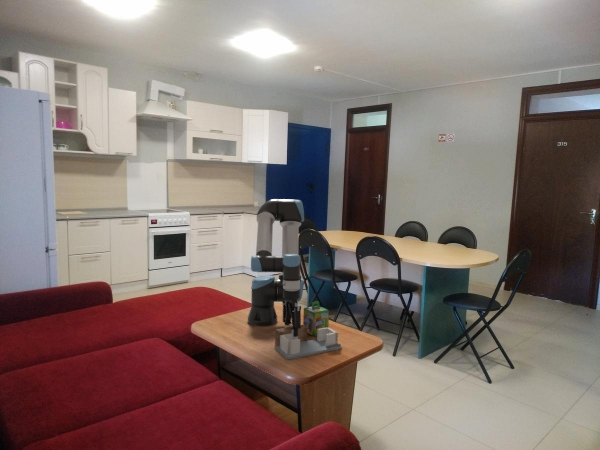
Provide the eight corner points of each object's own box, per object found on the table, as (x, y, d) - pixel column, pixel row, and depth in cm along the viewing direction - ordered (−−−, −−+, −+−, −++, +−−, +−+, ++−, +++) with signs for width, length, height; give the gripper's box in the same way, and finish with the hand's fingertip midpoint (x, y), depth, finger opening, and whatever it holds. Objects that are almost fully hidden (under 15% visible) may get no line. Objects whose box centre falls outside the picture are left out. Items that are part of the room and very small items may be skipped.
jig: (275, 348, 171) (275, 334, 171) (326, 339, 184) (327, 325, 183) (287, 359, 161) (288, 344, 160) (341, 348, 173) (342, 334, 173)
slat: (278, 348, 173) (279, 332, 172) (274, 344, 176) (275, 329, 176) (307, 342, 180) (307, 327, 179) (302, 339, 183) (303, 324, 182)
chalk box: (313, 337, 186) (314, 306, 185) (302, 331, 193) (302, 301, 192) (329, 333, 191) (330, 303, 190) (317, 327, 199) (318, 298, 197)
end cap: (316, 340, 179) (317, 328, 178) (327, 338, 181) (327, 327, 181) (326, 347, 172) (326, 334, 171) (337, 344, 174) (337, 332, 174)
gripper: (274, 286, 182) (275, 336, 183) (293, 294, 166) (293, 349, 167) (289, 285, 186) (289, 334, 187) (309, 292, 170) (309, 346, 171)
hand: (291, 341), depth 177 cm, fingers open, 5 cm apart
